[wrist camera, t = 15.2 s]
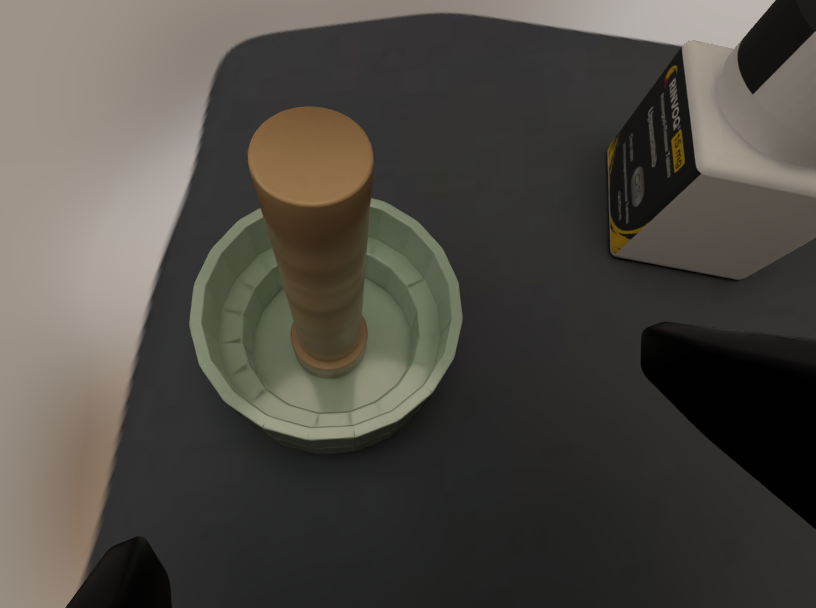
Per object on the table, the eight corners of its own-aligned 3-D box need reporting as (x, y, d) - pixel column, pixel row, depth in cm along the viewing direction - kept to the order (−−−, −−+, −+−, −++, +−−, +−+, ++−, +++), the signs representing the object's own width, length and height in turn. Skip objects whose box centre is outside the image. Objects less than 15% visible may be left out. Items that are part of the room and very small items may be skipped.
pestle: (367, 377, 20) (393, 220, 9) (293, 380, 19) (224, 219, 8) (365, 310, 21) (385, 96, 10) (295, 311, 21) (235, 90, 10)
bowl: (446, 448, 20) (476, 431, 15) (217, 461, 19) (174, 447, 14) (428, 254, 23) (448, 192, 19) (233, 255, 22) (203, 189, 17)
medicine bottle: (604, 148, 27) (780, -96, 16) (724, 172, 27) (977, -50, 16) (607, 258, 24) (823, 53, 13) (741, 283, 25) (1060, 104, 14)
